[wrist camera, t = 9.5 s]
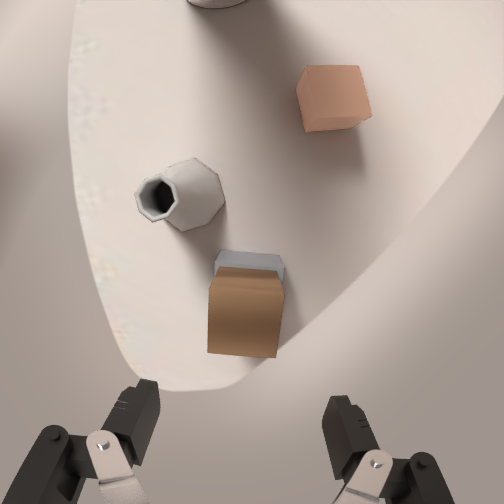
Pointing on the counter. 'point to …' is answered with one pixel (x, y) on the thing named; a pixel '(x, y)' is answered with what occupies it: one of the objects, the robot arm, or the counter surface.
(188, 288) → the counter surface
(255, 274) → the walnut cube
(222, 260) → the grey base block
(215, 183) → the flask
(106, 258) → the counter surface
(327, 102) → the terracotta cube
